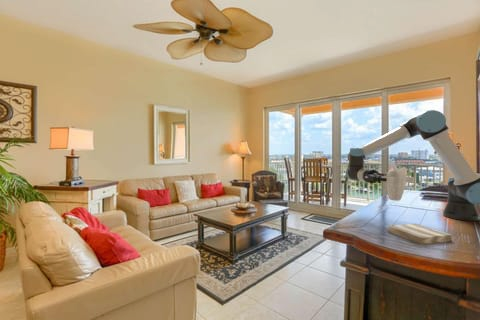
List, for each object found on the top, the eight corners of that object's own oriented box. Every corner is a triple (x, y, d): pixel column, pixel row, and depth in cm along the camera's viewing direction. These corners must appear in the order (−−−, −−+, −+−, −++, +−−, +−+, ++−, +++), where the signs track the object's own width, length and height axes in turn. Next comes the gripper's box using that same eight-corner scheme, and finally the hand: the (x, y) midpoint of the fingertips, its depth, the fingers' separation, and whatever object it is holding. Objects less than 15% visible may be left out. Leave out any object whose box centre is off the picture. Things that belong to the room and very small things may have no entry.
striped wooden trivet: (415, 228, 116) (415, 223, 116) (451, 240, 100) (451, 234, 100) (387, 231, 112) (387, 225, 112) (420, 244, 96) (420, 237, 96)
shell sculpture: (406, 202, 110) (407, 163, 109) (384, 200, 114) (386, 162, 114) (405, 199, 117) (406, 162, 116) (385, 197, 121) (386, 162, 121)
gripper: (385, 182, 135) (423, 187, 114) (349, 183, 130) (382, 189, 109) (386, 168, 135) (423, 171, 113) (350, 169, 130) (382, 172, 109)
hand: (403, 180), depth 111 cm, fingers closed on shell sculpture, 10 cm apart
